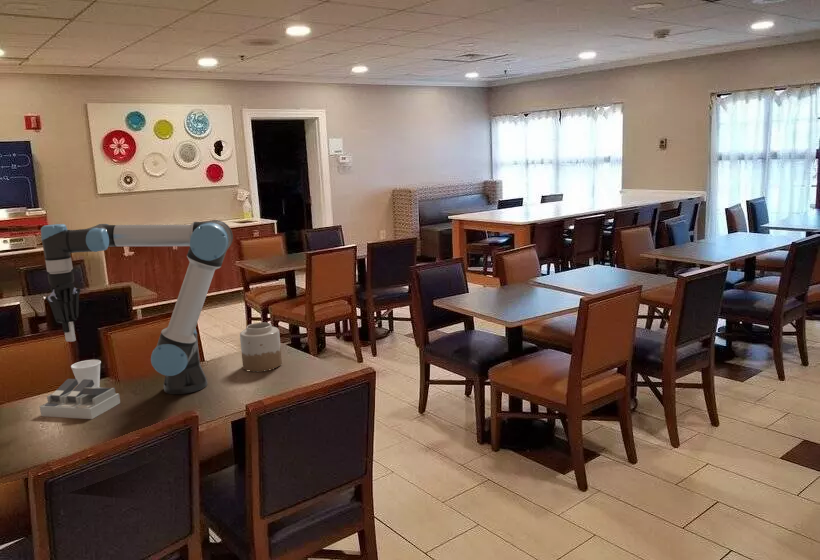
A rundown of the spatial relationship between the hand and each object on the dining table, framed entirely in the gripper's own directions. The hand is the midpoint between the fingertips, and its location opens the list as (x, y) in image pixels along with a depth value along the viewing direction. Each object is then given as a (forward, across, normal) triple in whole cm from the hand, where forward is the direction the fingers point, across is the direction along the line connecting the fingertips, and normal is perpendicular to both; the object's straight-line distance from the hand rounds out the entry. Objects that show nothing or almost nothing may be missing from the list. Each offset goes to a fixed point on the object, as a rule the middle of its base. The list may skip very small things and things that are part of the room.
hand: (70, 340), depth 215 cm
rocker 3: (+18, -1, +6) cm, 19 cm away
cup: (+25, -15, -9) cm, 30 cm away
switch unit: (+24, 0, 0) cm, 24 cm away
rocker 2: (+18, -1, 0) cm, 18 cm away
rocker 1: (+18, -1, -6) cm, 19 cm away
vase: (+25, -50, +43) cm, 70 cm away
